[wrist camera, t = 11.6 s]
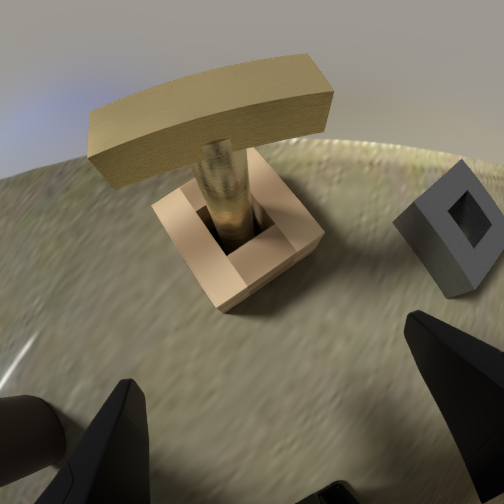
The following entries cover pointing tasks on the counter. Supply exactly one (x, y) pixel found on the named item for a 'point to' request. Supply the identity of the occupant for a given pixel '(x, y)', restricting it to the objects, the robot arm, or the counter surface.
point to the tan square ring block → (253, 252)
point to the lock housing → (455, 230)
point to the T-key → (211, 131)
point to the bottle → (27, 437)
